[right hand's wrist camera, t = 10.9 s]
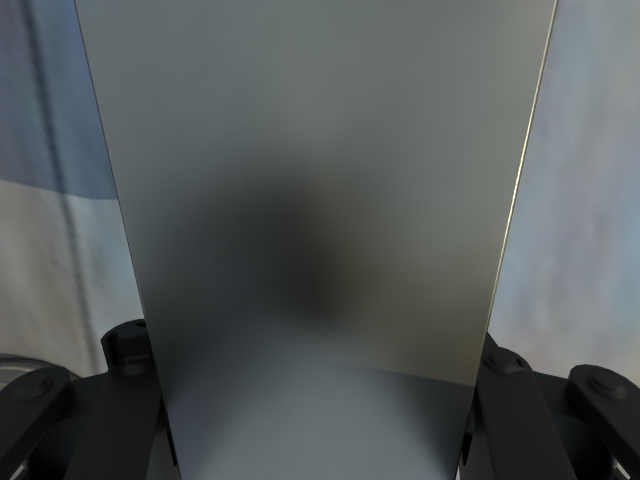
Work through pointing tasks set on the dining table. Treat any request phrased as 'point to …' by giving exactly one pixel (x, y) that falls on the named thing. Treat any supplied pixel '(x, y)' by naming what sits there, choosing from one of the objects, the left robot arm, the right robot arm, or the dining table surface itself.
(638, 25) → the dining table surface
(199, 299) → the bar
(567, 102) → the dining table surface
